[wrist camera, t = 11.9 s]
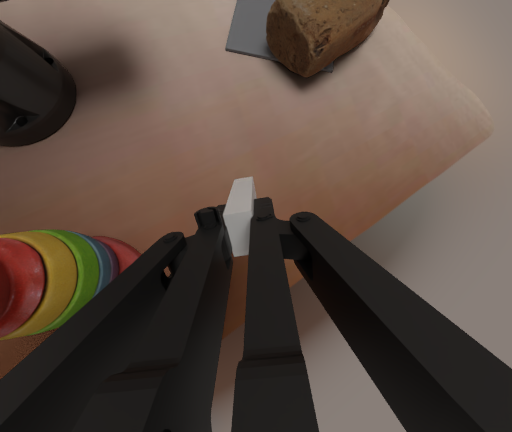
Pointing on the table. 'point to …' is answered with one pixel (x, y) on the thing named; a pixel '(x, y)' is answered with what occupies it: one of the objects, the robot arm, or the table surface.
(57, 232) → the stacking bear
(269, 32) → the block
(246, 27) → the mat
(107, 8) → the table surface
